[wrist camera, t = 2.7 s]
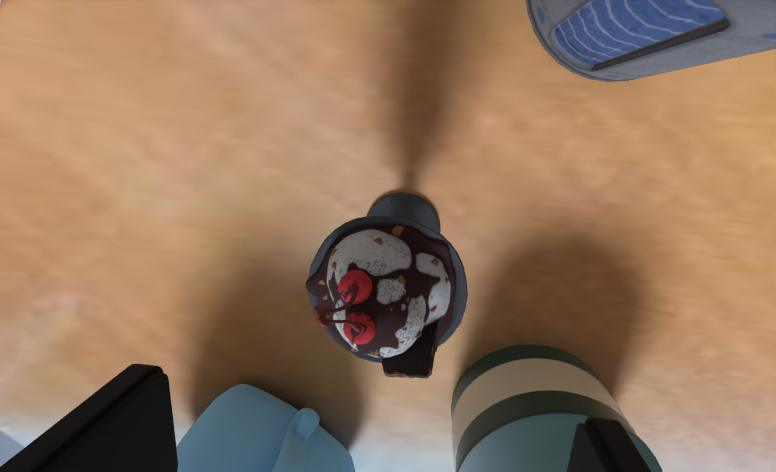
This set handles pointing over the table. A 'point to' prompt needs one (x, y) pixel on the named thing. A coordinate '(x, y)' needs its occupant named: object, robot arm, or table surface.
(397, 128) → the table surface
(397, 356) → the sundae
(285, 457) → the teapot
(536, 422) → the tin
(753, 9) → the beverage bottle
